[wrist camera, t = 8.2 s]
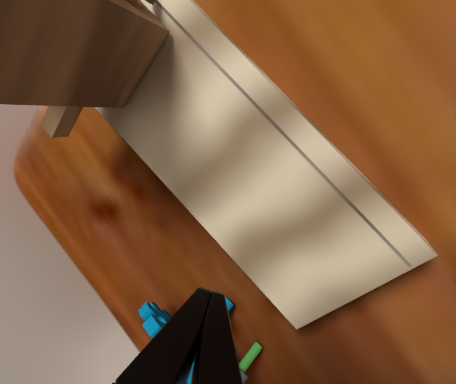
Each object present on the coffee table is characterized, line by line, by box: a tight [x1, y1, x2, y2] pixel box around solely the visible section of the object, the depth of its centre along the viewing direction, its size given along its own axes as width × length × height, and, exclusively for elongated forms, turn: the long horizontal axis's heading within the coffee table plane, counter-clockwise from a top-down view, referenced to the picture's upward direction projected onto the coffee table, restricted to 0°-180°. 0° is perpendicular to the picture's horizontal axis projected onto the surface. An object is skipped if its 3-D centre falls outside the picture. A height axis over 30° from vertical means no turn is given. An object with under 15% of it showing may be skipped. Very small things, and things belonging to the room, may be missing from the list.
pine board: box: [95, 0, 438, 329], centre depth 18 cm, size 23×10×2 cm, turn 47°
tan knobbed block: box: [0, 0, 170, 138], centre depth 13 cm, size 4×11×11 cm, turn 137°
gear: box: [139, 297, 262, 384], centre depth 21 cm, size 11×6×10 cm
